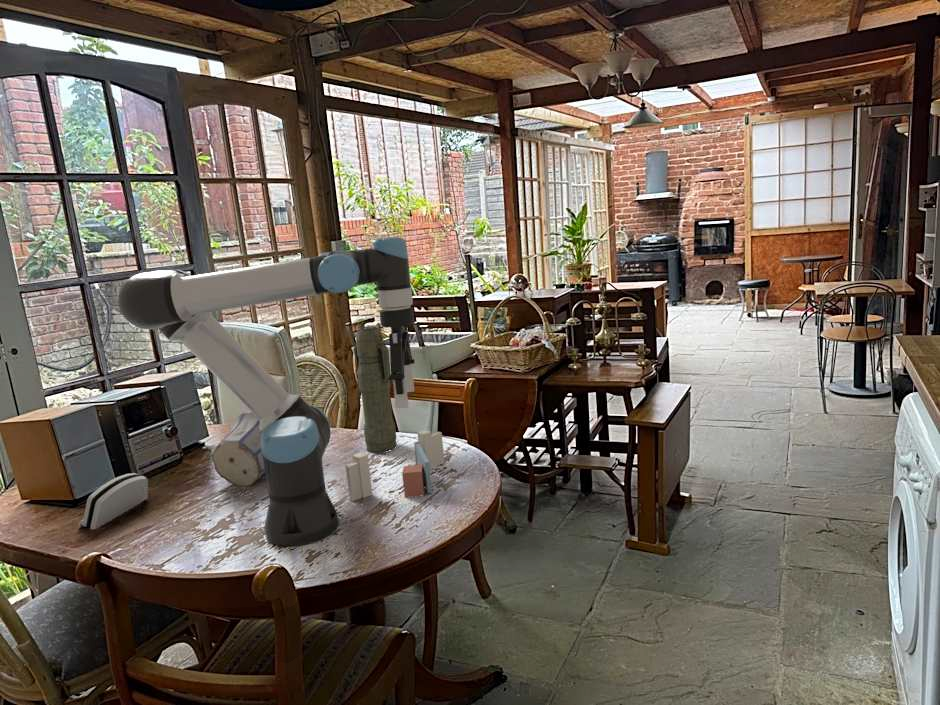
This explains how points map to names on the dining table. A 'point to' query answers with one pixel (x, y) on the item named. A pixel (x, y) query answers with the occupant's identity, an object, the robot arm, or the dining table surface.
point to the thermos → (375, 389)
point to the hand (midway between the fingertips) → (405, 399)
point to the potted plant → (240, 452)
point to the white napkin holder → (114, 499)
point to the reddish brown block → (413, 480)
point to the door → (423, 460)
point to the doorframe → (360, 467)
